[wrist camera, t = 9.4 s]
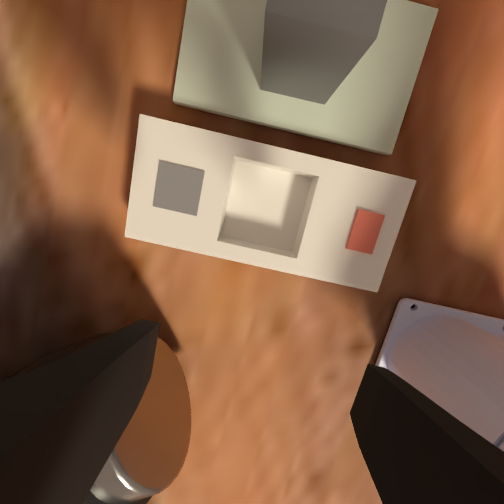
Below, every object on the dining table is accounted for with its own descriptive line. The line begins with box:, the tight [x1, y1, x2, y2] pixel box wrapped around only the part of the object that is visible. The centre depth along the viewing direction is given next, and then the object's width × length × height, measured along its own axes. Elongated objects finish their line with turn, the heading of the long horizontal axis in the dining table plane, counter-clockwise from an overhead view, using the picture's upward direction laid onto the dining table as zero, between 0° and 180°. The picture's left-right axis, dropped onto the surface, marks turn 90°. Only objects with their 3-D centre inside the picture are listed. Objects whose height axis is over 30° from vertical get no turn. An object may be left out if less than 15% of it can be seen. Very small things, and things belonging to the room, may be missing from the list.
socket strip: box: [125, 114, 417, 292], centre depth 17 cm, size 16×7×3 cm, turn 77°
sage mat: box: [173, 0, 439, 156], centre depth 16 cm, size 14×8×1 cm, turn 77°
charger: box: [260, 0, 387, 105], centre depth 12 cm, size 4×4×7 cm
